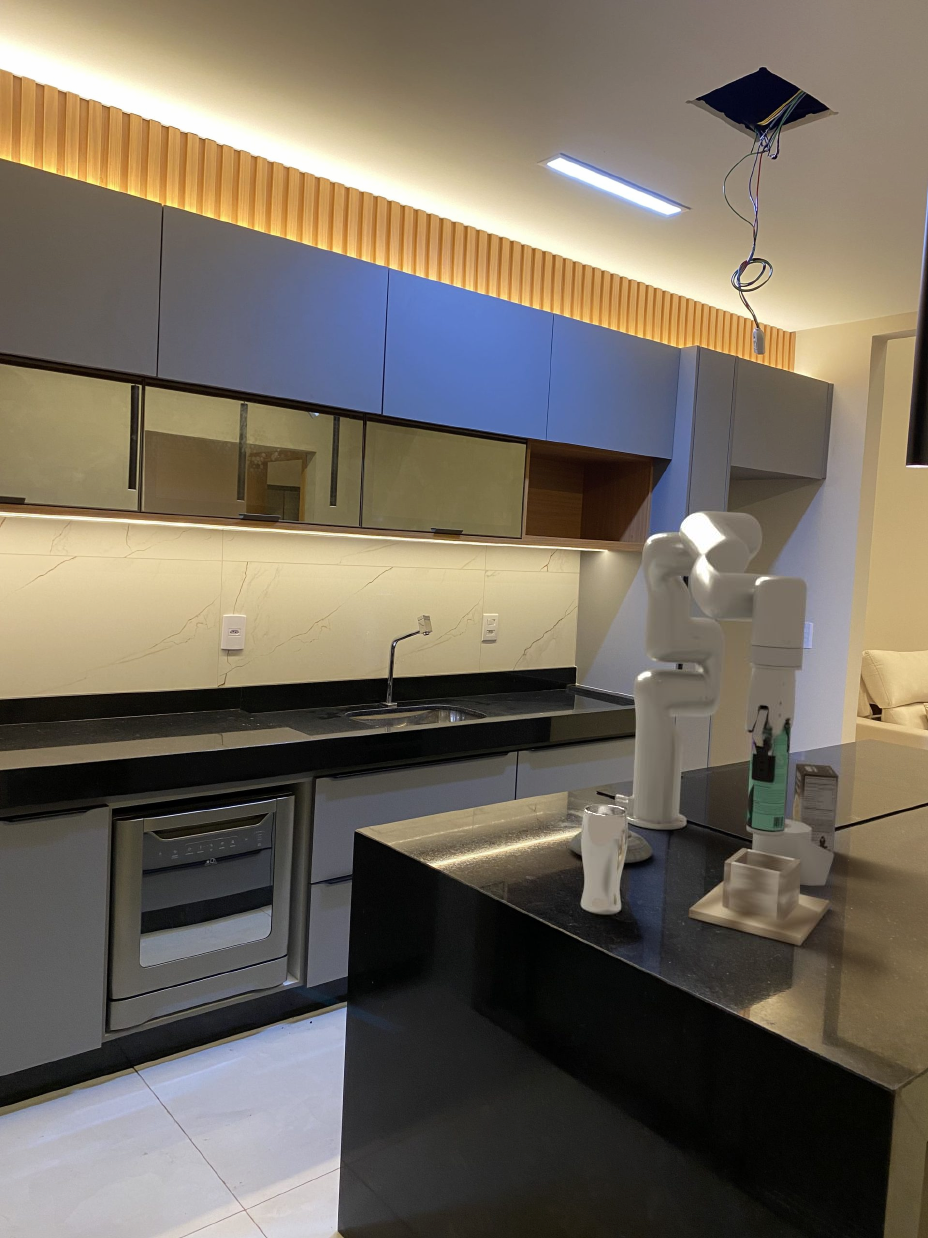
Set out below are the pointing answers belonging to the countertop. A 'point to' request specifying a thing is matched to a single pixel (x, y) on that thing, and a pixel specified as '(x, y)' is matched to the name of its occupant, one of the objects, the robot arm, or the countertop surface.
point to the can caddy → (762, 898)
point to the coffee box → (816, 802)
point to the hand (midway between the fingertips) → (768, 776)
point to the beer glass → (603, 856)
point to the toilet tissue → (798, 851)
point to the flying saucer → (635, 847)
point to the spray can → (770, 791)
